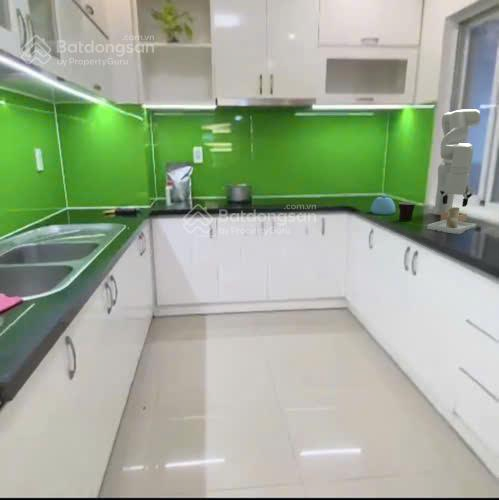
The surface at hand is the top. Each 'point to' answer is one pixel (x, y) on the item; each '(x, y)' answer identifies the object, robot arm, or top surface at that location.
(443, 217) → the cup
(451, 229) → the tray
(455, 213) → the beige vase
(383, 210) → the sugar bowl
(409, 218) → the coffee mug
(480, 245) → the top surface
